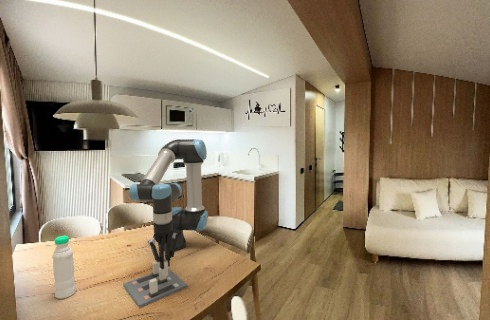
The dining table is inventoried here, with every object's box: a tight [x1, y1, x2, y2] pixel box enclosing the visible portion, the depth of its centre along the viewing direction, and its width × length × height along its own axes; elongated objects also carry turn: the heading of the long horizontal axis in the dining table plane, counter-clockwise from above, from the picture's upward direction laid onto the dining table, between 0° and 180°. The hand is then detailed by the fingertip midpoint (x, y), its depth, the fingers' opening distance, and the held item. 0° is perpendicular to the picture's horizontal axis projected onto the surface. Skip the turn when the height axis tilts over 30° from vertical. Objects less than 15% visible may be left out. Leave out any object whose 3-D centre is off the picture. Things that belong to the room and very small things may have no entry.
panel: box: [122, 267, 189, 309], centre depth 114 cm, size 20×21×1 cm
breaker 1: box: [151, 260, 160, 277], centre depth 122 cm, size 2×3×6 cm
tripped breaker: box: [149, 278, 158, 297], centre depth 107 cm, size 2×3×6 cm
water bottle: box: [51, 235, 76, 300], centre depth 108 cm, size 7×7×25 cm
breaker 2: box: [158, 268, 167, 283], centre depth 116 cm, size 2×3×6 cm
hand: (165, 274), depth 110 cm, fingers closed
